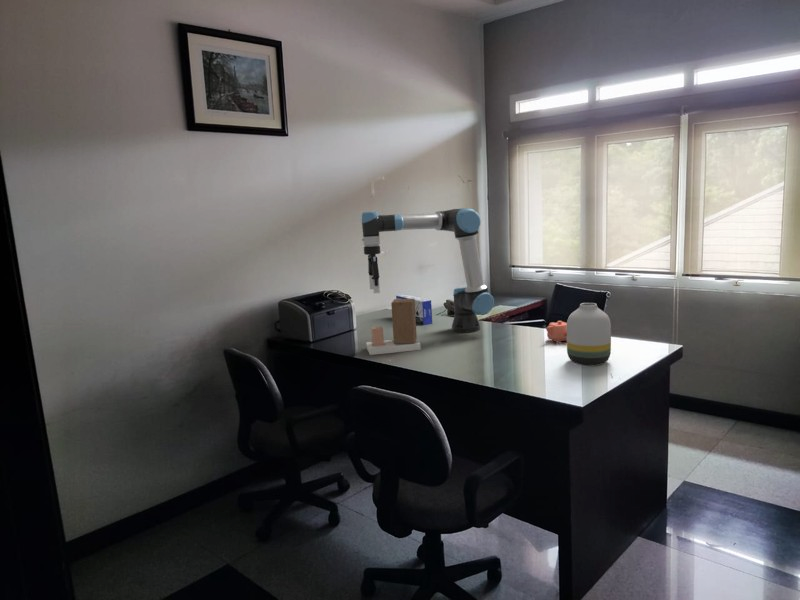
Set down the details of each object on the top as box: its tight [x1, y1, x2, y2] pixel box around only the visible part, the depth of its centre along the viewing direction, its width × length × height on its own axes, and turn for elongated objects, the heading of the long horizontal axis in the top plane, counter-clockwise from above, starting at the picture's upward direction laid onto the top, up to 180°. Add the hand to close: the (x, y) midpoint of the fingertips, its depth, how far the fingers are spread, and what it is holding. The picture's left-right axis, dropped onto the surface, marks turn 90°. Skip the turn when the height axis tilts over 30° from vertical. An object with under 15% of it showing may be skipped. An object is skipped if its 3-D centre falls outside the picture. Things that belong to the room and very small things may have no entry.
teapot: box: [545, 320, 567, 344], centre depth 262 cm, size 12×12×10 cm
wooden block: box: [391, 298, 418, 344], centre depth 266 cm, size 10×10×20 cm
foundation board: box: [365, 339, 421, 356], centre depth 266 cm, size 24×13×3 cm, turn 100°
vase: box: [566, 302, 612, 366], centre depth 225 cm, size 17×17×24 cm
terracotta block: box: [370, 325, 385, 346], centre depth 264 cm, size 5×5×8 cm
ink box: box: [395, 294, 433, 326], centre depth 329 cm, size 30×7×14 cm, turn 30°
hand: (374, 291), depth 261 cm, fingers open, 13 cm apart
